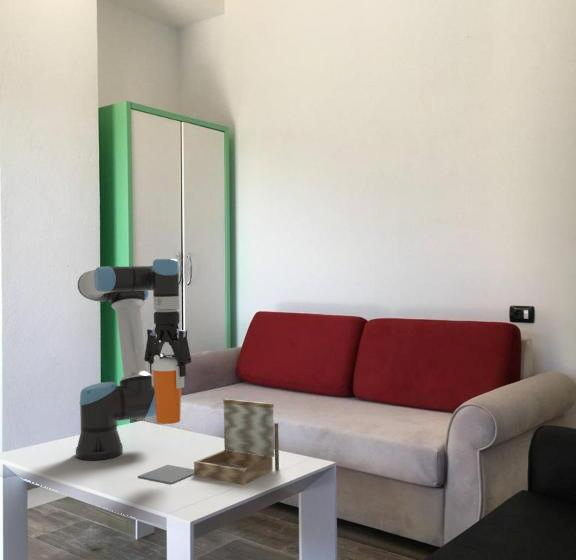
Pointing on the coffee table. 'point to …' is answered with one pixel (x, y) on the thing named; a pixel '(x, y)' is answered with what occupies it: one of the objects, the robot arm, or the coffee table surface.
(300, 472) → the coffee table surface
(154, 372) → the shaker bottle
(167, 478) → the slate coaster
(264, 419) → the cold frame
